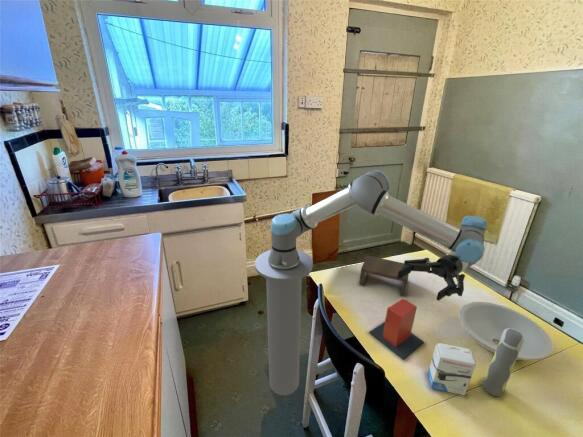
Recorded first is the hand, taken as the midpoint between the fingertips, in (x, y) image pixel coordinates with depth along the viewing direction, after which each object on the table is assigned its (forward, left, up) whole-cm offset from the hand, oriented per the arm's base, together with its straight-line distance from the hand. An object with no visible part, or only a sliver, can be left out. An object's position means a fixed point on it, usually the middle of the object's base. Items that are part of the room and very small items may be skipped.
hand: (417, 285), depth 90 cm
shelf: (-22, +15, -18) cm, 32 cm away
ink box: (+18, -10, -18) cm, 27 cm away
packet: (0, -7, -17) cm, 19 cm away
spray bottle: (+26, -1, -18) cm, 32 cm away
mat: (0, -7, -18) cm, 19 cm away
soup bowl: (+20, +18, -18) cm, 33 cm away
